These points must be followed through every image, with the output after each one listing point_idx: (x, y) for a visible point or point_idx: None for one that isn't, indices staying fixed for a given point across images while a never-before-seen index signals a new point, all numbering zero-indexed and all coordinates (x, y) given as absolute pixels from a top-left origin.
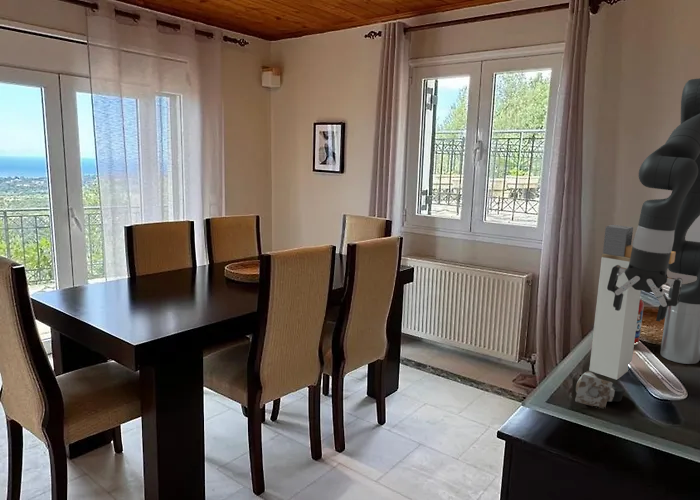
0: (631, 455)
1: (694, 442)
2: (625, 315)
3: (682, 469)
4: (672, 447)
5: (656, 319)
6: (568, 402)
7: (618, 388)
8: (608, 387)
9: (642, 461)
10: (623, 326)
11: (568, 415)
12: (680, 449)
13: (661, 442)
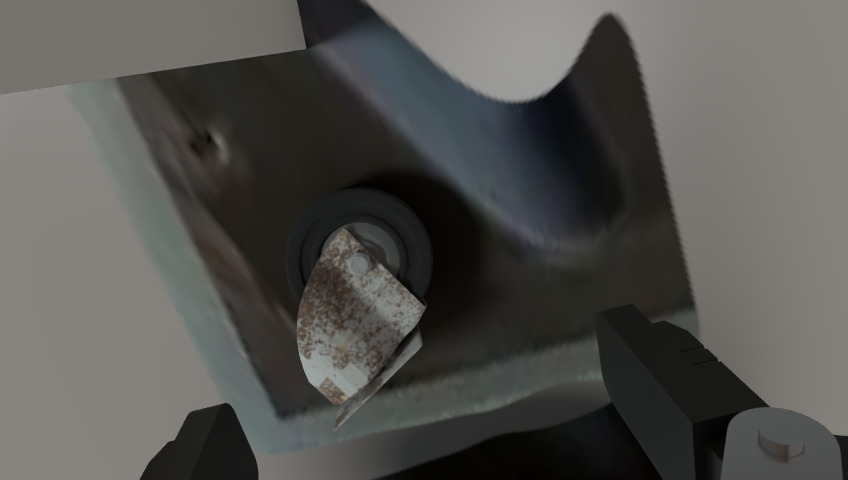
0: (583, 461)
1: (689, 278)
2: (154, 47)
3: None
4: None
5: (615, 401)
6: None
7: (400, 225)
8: (413, 345)
9: (612, 462)
10: (206, 62)
11: (373, 429)
12: None
13: None
